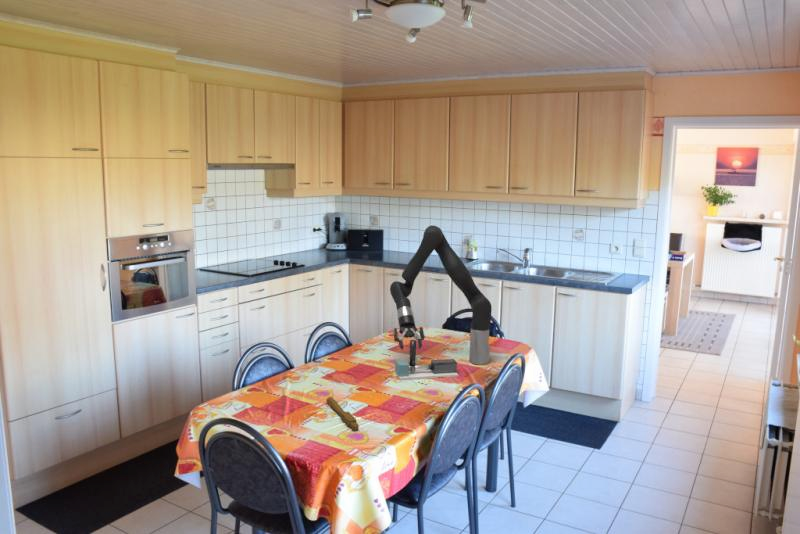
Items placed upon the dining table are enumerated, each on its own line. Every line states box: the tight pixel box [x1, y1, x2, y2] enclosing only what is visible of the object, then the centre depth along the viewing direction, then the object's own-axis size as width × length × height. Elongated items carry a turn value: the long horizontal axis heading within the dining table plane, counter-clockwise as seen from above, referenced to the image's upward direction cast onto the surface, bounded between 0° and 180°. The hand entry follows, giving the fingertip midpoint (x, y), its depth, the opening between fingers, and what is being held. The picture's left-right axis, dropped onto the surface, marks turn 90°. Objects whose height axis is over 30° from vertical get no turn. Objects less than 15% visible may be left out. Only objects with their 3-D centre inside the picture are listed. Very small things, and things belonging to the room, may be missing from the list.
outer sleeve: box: [430, 358, 458, 374], centre depth 302 cm, size 11×5×5 cm, turn 103°
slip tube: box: [408, 339, 434, 372], centre depth 298 cm, size 17×4×15 cm, turn 103°
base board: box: [393, 369, 460, 381], centre depth 300 cm, size 28×11×1 cm, turn 103°
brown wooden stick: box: [326, 396, 359, 431], centre depth 249 cm, size 3×3×30 cm
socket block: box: [394, 359, 409, 377], centre depth 297 cm, size 4×8×5 cm, turn 13°
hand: (411, 348), depth 300 cm, fingers open, 8 cm apart
